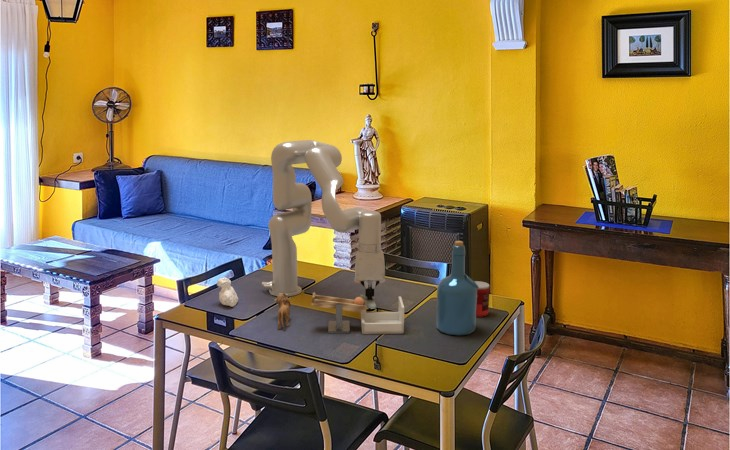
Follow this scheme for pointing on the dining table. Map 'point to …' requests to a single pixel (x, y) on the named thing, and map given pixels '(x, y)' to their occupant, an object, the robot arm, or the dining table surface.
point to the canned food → (482, 299)
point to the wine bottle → (457, 297)
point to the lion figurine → (283, 309)
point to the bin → (384, 321)
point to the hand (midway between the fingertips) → (369, 298)
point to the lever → (343, 303)
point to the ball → (358, 301)
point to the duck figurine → (227, 292)
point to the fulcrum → (338, 322)
